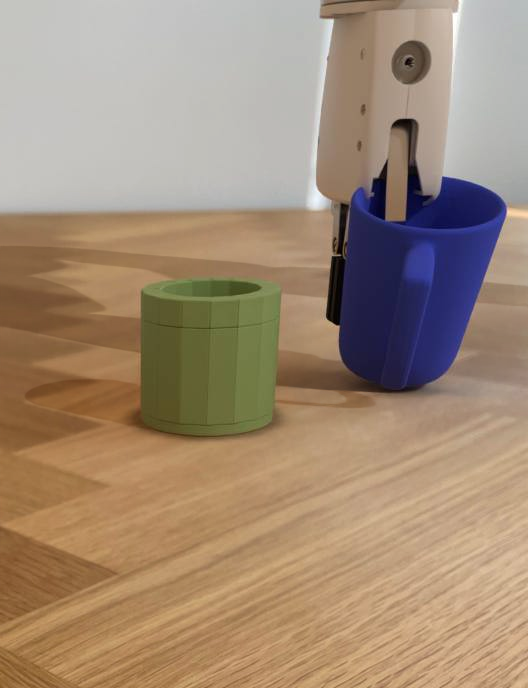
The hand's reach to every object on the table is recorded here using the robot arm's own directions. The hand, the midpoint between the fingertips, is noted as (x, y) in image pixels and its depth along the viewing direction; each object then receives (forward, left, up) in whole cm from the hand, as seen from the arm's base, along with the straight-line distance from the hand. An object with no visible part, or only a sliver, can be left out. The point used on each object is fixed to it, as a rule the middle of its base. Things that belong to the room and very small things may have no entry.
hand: (353, 322), depth 67 cm
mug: (-1, +6, -3) cm, 6 cm away
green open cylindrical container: (+11, +10, -3) cm, 15 cm away
